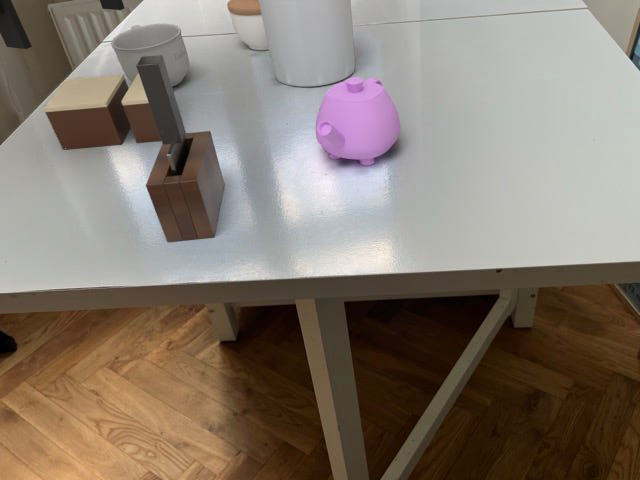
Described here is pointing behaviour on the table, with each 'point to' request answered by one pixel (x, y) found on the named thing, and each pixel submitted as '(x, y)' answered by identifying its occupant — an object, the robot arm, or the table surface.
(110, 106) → the cake
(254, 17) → the trinket box
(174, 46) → the teacup
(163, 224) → the knife block
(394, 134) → the teapot
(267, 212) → the table surface
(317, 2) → the utensil holder
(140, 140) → the cake slice
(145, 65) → the knife
